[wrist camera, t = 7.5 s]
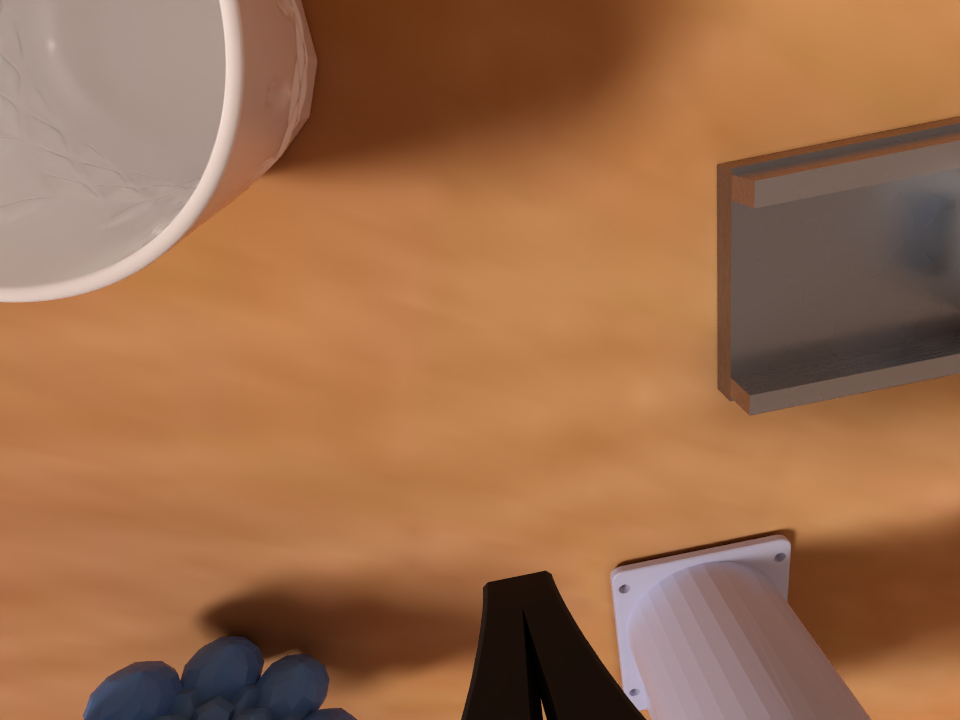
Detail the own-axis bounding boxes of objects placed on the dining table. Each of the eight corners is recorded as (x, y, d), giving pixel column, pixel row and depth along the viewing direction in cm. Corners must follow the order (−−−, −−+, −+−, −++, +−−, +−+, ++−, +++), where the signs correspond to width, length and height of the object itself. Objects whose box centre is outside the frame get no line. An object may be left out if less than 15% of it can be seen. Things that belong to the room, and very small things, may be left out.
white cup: (394, 88, 17) (364, 83, 8) (203, 249, 19) (-3, 395, 10) (186, -199, 14) (-224, -707, 5) (-23, 18, 16) (-633, -84, 7)
